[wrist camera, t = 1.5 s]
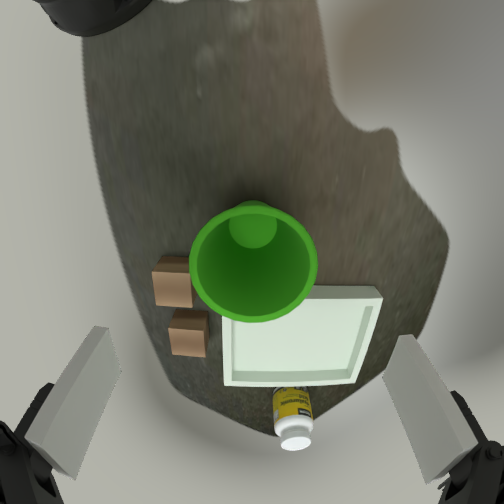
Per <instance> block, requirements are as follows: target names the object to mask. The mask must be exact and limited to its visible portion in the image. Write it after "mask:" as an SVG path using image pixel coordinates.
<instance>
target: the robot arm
mask: <svg viewBox="0 0 504 504" xmlns="http://www.w3.org/2000/svg"><path fill="white" fill-rule="evenodd" d="M34 1H36V2H38V3H40V5H41V7H42V8H43V9H44V11H45V12H46V13H47V14H48V15H49V17H50V19H51V21H52V23H53V24H54V25H55V26H56V27H57V28H59V29H60V30H62V31H64V32H67V33H69V34H71V35H75V36H92V35H97V34H100V33H103V32H106V31H109V30H111V29H113V28H115V27H117V26H119V25H121V24H122V23H124V22H126V21H127V20H129V19H130V18H132V17H133V16H134V15H136V14H137V13H138V12H140V11H141V10H142V9H143V8H144V7H145V6H146V5H147V4H148V3H149V2H150V1H151V0H34ZM121 372H122V371H121V368H120V365H119V362H118V359H117V355H116V352H115V349H114V346H113V342H112V339H111V336H110V332H109V328H105V327H99V326H94V327H93V329H92V330H91V331H90V333H89V334H88V336H87V337H86V338H85V340H84V341H83V343H82V344H81V346H80V347H79V349H78V350H77V352H76V353H75V355H74V356H73V358H72V359H71V360H70V362H69V363H68V365H67V366H66V368H65V370H64V371H63V373H62V374H61V376H60V377H59V379H58V380H57V382H56V384H52V383H47V384H46V385H45V386H44V387H42V388H41V389H40V390H39V392H38V393H37V395H36V396H35V398H34V400H33V401H32V403H31V404H30V407H29V408H28V409H27V411H26V413H25V414H24V416H23V418H22V419H21V421H20V423H19V424H18V426H17V428H16V430H15V431H14V433H13V432H12V431H11V430H10V428H9V427H8V426H7V425H6V424H5V423H4V422H2V421H0V504H64V503H63V500H62V498H61V495H60V493H59V490H58V487H57V485H56V482H55V479H54V477H53V475H52V473H51V471H52V468H54V469H55V470H56V471H57V472H58V473H59V474H61V475H63V476H65V477H68V478H70V479H72V480H76V477H77V475H78V472H79V469H80V467H81V464H82V462H83V459H84V456H85V454H86V451H87V449H88V446H89V444H90V441H91V439H92V437H93V434H94V432H95V429H96V427H97V425H98V422H99V420H100V418H101V415H102V413H103V411H104V409H105V406H106V404H107V402H108V399H109V397H110V395H111V393H112V391H113V389H114V387H115V384H116V382H117V380H118V378H119V376H120V374H121ZM382 378H383V380H384V382H385V384H386V387H387V389H388V391H389V393H390V396H391V398H392V400H393V403H394V405H395V407H396V409H397V412H398V414H399V417H400V419H401V421H402V424H403V426H404V428H405V431H406V433H407V436H408V438H409V441H410V443H411V446H412V448H413V451H414V453H415V456H416V459H417V461H418V464H419V467H420V469H421V472H422V475H423V478H424V480H425V483H426V484H429V483H431V482H434V481H437V480H439V479H441V478H442V477H443V476H445V475H446V474H447V473H448V472H449V474H450V477H449V478H448V479H446V480H445V481H444V482H443V483H442V484H440V485H439V487H438V489H441V488H442V487H443V486H444V485H445V487H444V489H443V490H442V491H443V493H442V495H441V498H440V500H439V503H438V504H504V446H501V445H500V444H499V443H498V442H496V441H488V440H487V438H486V436H485V435H484V433H483V431H482V429H481V427H480V425H479V424H478V422H477V420H476V418H475V417H474V415H472V412H471V410H470V408H468V405H467V403H466V402H465V400H464V398H463V397H462V396H461V395H460V394H458V393H457V392H456V391H451V392H449V390H448V389H447V387H446V385H445V384H444V382H443V380H442V379H441V377H440V376H439V374H438V372H437V371H436V369H435V368H434V366H433V365H432V363H431V362H430V360H429V359H428V357H427V355H426V354H425V352H424V351H423V349H422V348H421V347H420V345H419V343H418V342H417V340H416V339H415V338H414V336H413V335H401V336H399V338H398V340H397V343H396V346H395V348H394V351H393V353H392V356H391V358H390V361H389V363H388V365H387V368H386V370H385V372H384V375H383V377H382Z"/></svg>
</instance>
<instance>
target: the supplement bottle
mask: <svg viewBox="0 0 504 504" xmlns="http://www.w3.org/2000/svg"><path fill="white" fill-rule="evenodd" d="M273 412H274V428H275V432H276V434H277V435H278V436H280V441H281V446H282V448H283V449H286V450H291V451H294V450H301V449H304V448H306V447H308V446H309V445H310V444H311V436H310V432H311V431H312V429H313V417H312V411H311V406H310V400H309V395H308V390H307V388H306V387H305V386H293V387H277V388H276V389H275V390H274V392H273Z"/></svg>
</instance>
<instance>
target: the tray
mask: <svg viewBox="0 0 504 504" xmlns="http://www.w3.org/2000/svg"><path fill="white" fill-rule="evenodd" d="M382 300H383V297H382V296H381V295H380V293H379V292H378V291H377V289H376V288H375V286H318V285H313V287H312V289H311V291H310V293H309V294H308V296H307V297H306V298H305V299H304V300H303V302H302V303H301V304H300V305H299V306H298V307H296V308H295V309H294V310H293V311H291V312H290V313H288V314H286V315H284V316H282V317H280V318H278V319H275V320H271V321H267V322H263V323H246V322H240V321H234V320H232V319H229V318H227V317H224V316H222V336H223V367H224V385H225V386H250V387H293V386H318V385H334V384H346V383H355V381H356V379H357V376H358V374H359V371H360V368H361V366H362V363H363V360H364V357H365V354H366V352H367V349H368V346H369V343H370V340H371V337H372V334H373V331H374V327H375V324H376V321H377V318H378V314H379V311H380V307H381V304H382Z"/></svg>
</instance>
